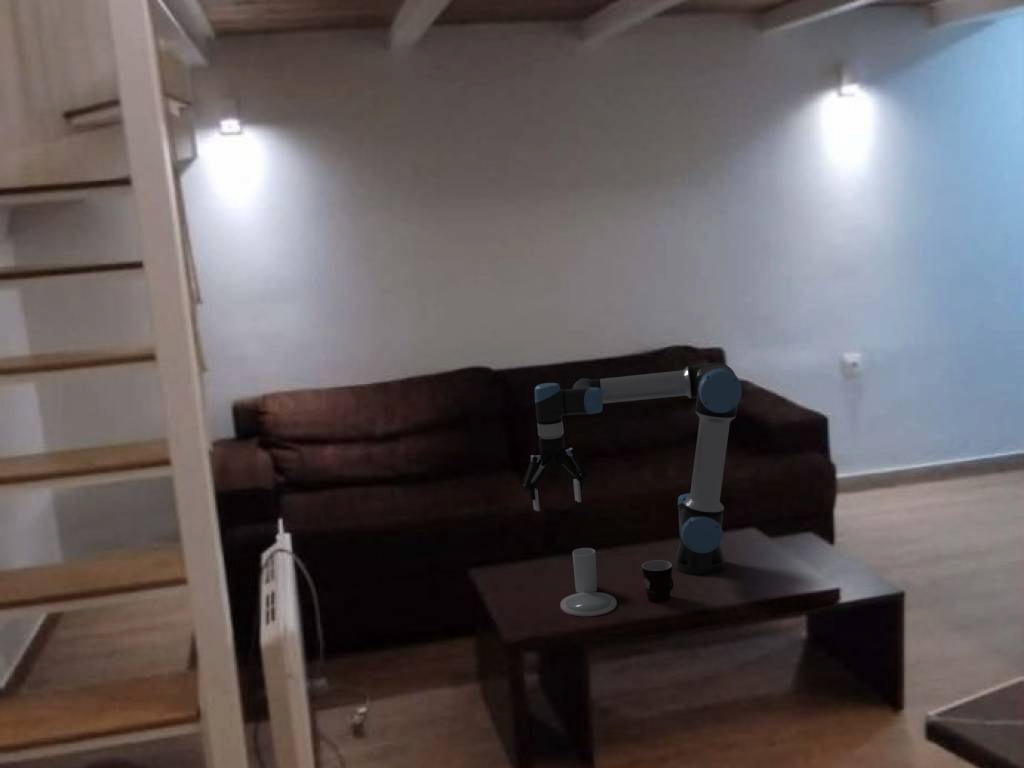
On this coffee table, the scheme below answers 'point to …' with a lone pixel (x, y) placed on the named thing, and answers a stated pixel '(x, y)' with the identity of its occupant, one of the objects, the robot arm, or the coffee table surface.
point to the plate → (588, 604)
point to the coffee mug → (658, 580)
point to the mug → (585, 570)
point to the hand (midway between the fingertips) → (557, 505)
